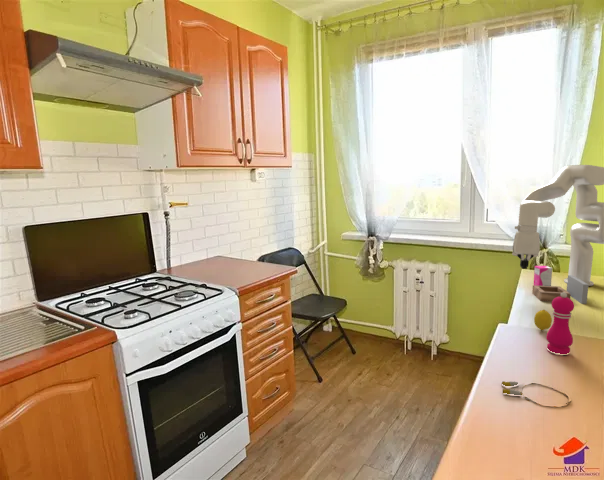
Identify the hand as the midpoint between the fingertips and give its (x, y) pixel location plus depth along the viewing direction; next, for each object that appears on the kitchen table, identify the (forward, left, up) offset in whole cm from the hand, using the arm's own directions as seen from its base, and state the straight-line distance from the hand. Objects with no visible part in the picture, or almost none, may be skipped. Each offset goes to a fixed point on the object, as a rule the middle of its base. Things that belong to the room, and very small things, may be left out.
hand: (523, 268), depth 181 cm
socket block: (0, +12, -14) cm, 18 cm away
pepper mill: (+60, -6, -14) cm, 62 cm away
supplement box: (-15, +13, -14) cm, 25 cm away
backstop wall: (-2, +23, -14) cm, 27 cm away
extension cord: (+88, -21, -15) cm, 92 cm away
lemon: (+42, -5, -14) cm, 44 cm away
